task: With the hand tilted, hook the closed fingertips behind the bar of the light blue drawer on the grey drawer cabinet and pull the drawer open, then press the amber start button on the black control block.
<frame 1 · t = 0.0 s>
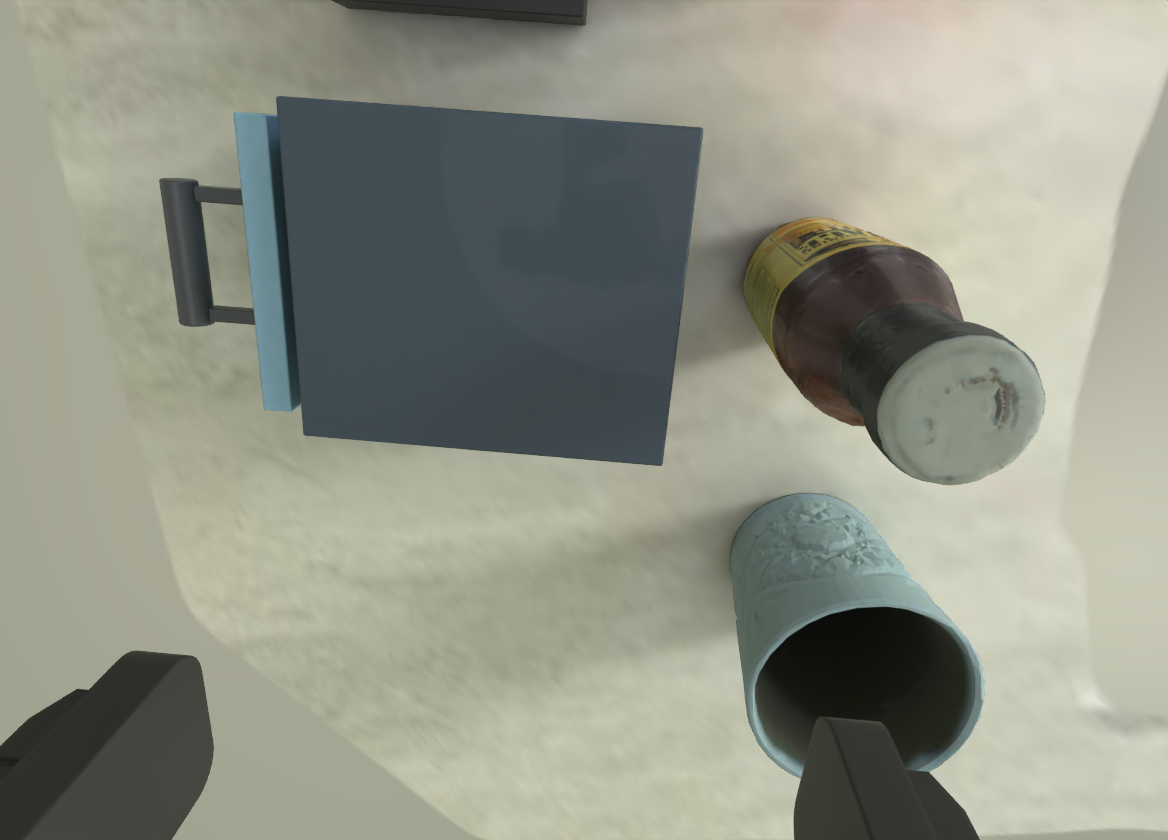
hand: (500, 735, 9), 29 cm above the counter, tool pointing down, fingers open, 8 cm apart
grey drawer cabinet: (522, 255, 36), on the counter
sauce bottle: (796, 276, 36), on the counter
embossed plant pot: (798, 552, 42), on the counter
light blue drawer: (396, 263, 31), point 5 cm above the counter, slide at 0.8 cm
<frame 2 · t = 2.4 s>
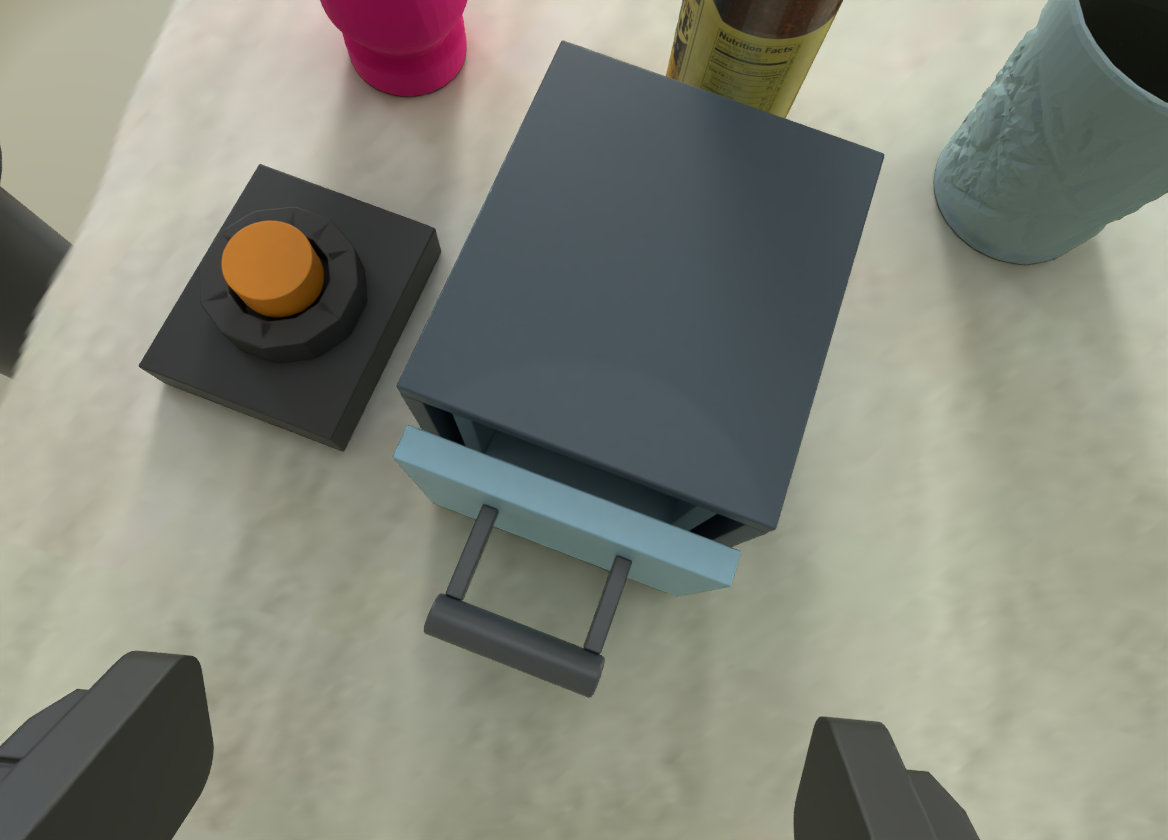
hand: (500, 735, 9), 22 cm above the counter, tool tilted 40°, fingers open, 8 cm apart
pepper mill: (409, 52, 39), on the counter
grey drawer cabinet: (622, 368, 34), on the counter
sauce bottle: (708, 143, 38), on the counter
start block: (308, 314, 34), on the counter
embossed plant pot: (1003, 198, 38), on the counter
light blue drawer: (596, 431, 28), point 5 cm above the counter, slide at 0.8 cm
start button: (274, 269, 30), point 4 cm above the counter, slide at 0.1 cm
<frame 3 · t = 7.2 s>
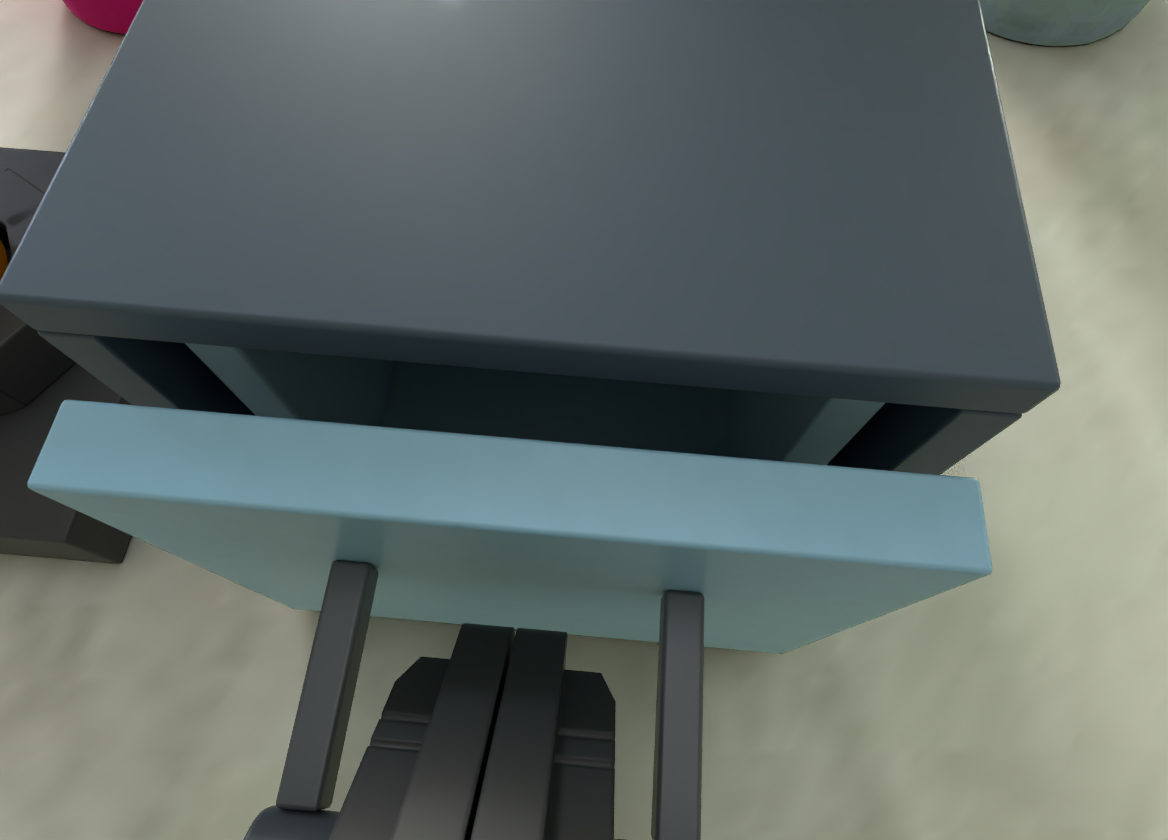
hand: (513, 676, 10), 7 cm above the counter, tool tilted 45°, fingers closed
grey drawer cabinet: (573, 310, 21), on the counter
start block: (33, 356, 20), on the counter
light blue drawer: (551, 373, 14), point 5 cm above the counter, slide at 0.8 cm, touching gripper
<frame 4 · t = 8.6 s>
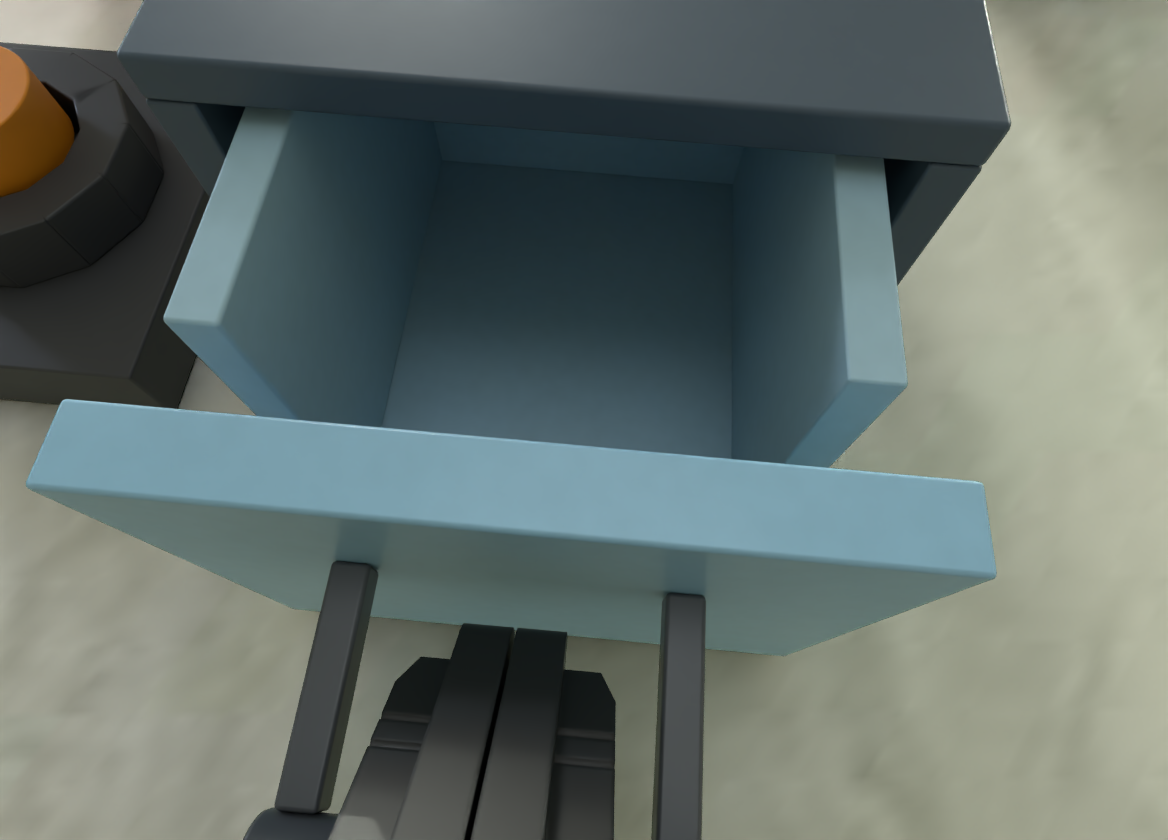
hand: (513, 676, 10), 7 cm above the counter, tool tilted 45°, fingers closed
grey drawer cabinet: (587, 202, 22), on the counter
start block: (89, 239, 22), on the counter
light blue drawer: (553, 374, 14), point 5 cm above the counter, slide at 4.9 cm, touching gripper
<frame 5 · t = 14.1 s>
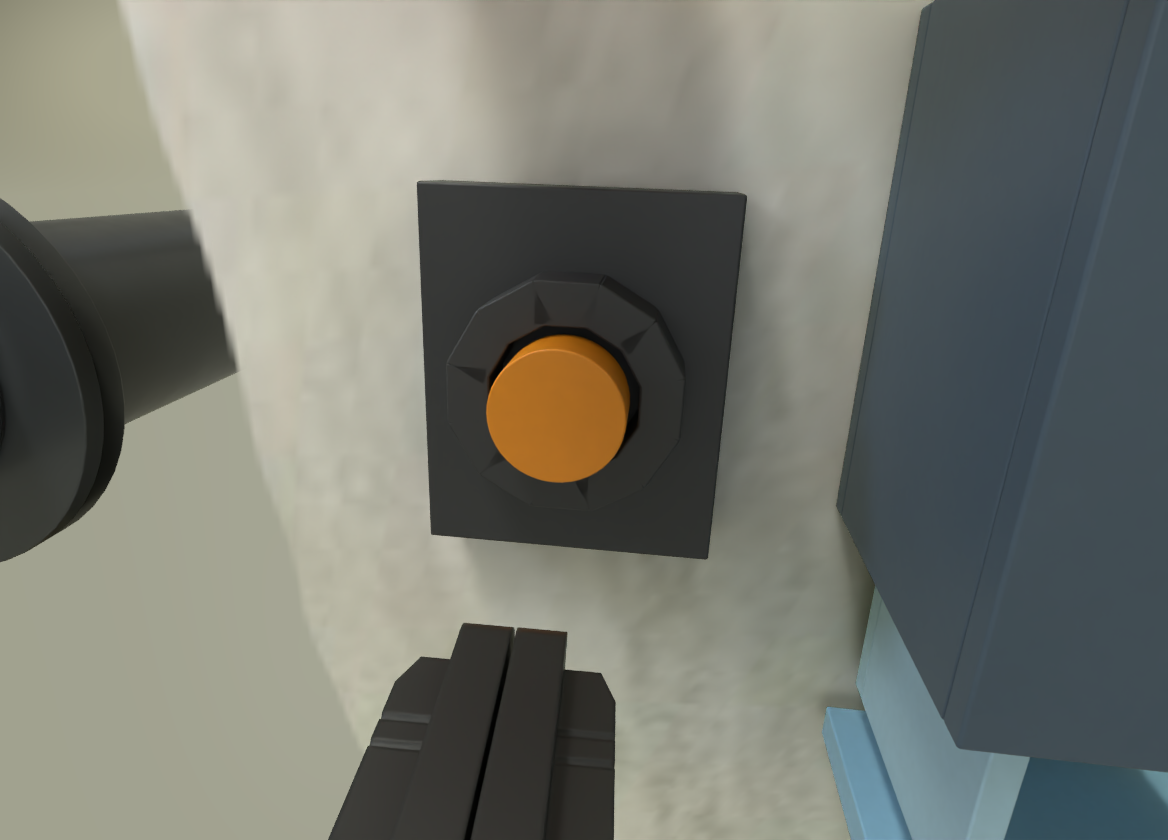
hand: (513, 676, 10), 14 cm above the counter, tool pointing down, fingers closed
grey drawer cabinet: (1097, 297, 20), on the counter
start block: (580, 364, 23), on the counter
light blue drawer: (1090, 748, 19), point 5 cm above the counter, slide at 7.3 cm
start button: (560, 407, 19), point 4 cm above the counter, slide at 0.1 cm
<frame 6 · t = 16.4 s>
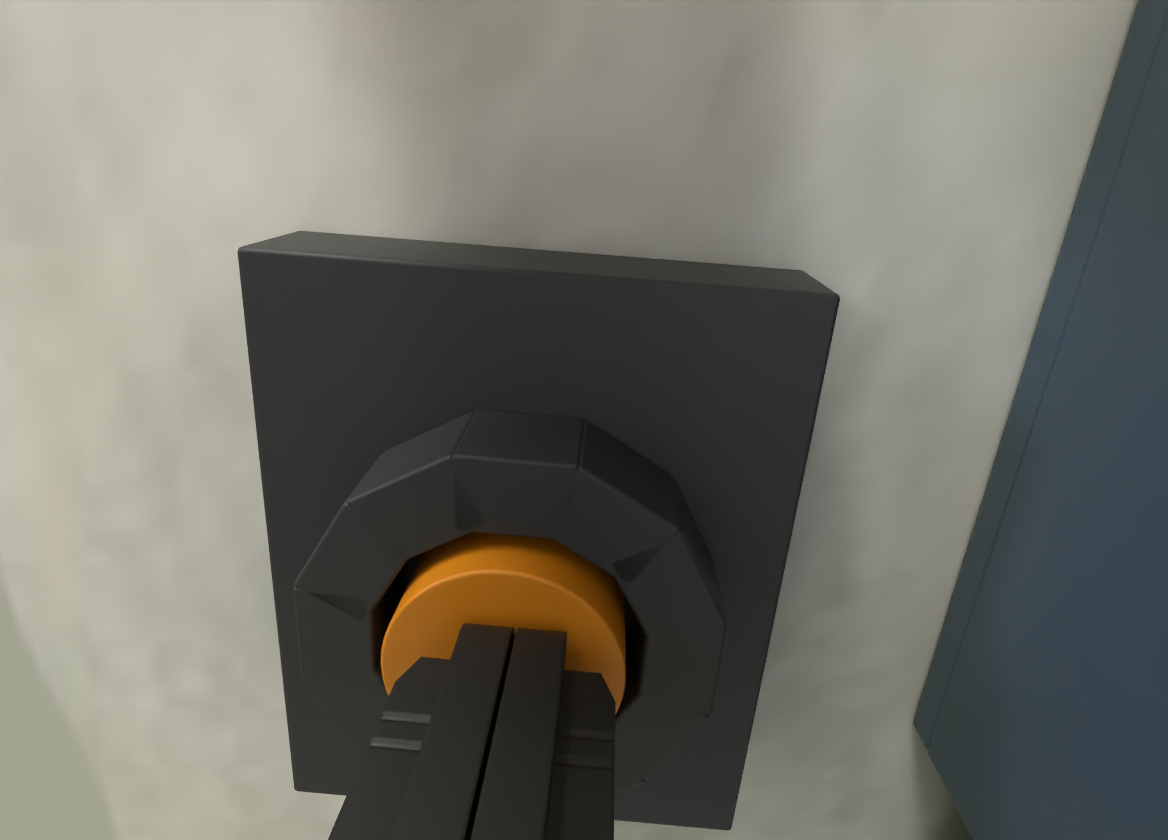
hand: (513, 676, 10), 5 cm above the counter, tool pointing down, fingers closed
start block: (535, 523, 14), on the counter
start button: (510, 637, 11), point 4 cm above the counter, slide at -0.8 cm, touching gripper
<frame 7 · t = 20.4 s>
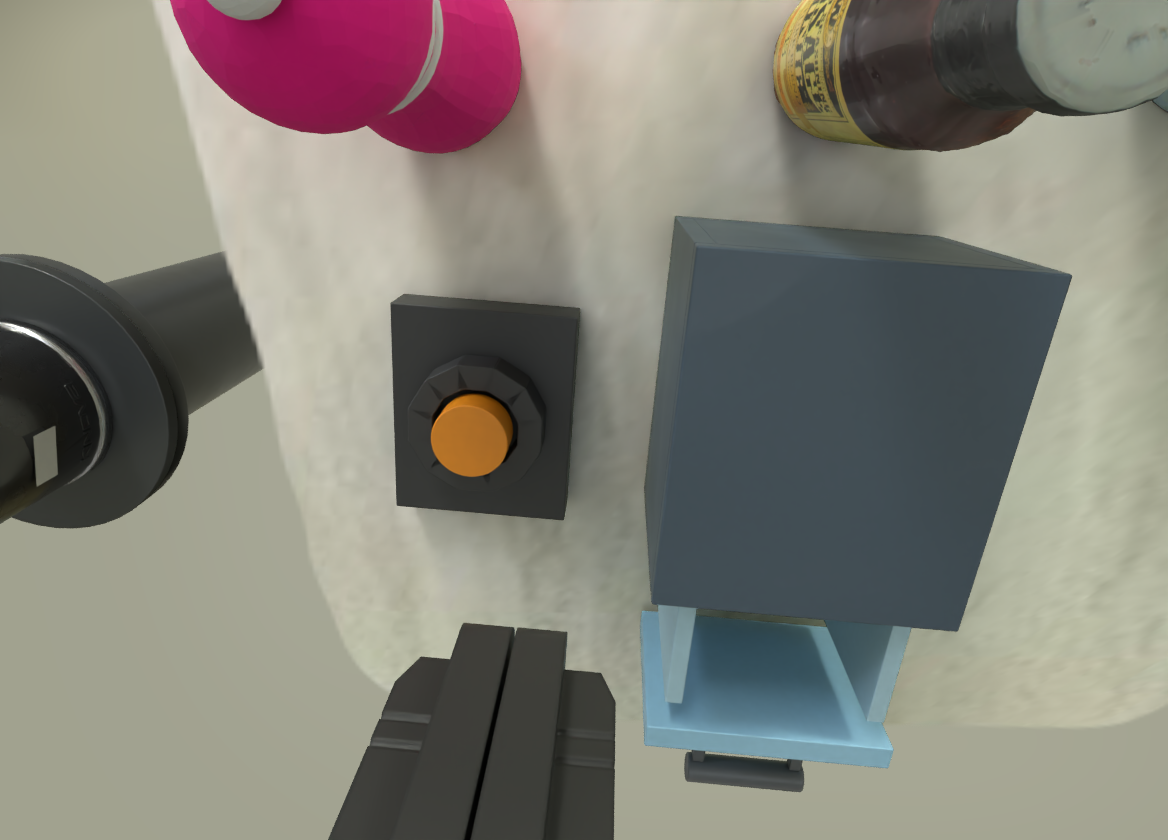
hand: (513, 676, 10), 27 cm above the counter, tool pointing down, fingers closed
pepper mill: (453, 67, 32), on the counter
grey drawer cabinet: (781, 372, 36), on the counter
sauce bottle: (834, 70, 31), on the counter
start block: (489, 402, 38), on the counter
light blue drawer: (763, 620, 35), point 5 cm above the counter, slide at 7.3 cm
start button: (472, 434, 34), point 4 cm above the counter, slide at 0.1 cm
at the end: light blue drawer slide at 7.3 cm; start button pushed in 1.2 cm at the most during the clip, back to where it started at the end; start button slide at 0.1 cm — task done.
